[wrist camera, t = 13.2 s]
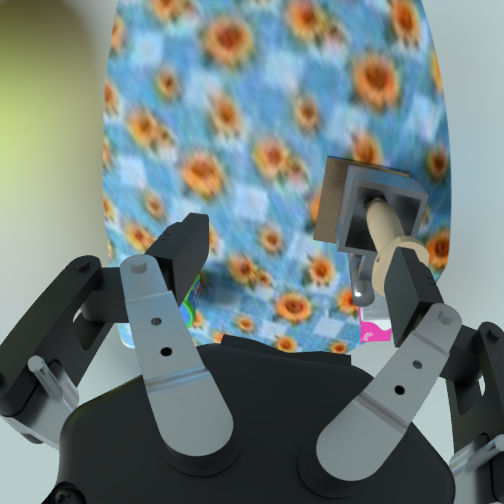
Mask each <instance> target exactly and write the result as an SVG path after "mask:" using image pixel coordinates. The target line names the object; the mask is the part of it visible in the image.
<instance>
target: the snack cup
mask: <svg viewBox="0 0 504 504" xmlns="http://www.w3.org/2000/svg"><path fill="white" fill-rule="evenodd" d="M199 279H200V274H198V276H197V277H196V279H195V281H194V283H193V284H192V286H191V288H190V290H189V292H188V293H187V295H186V297H185V299H184V301H183V302H182V304H181V306H180V308H179V310H180V312H181V314H182V317H183V319H184V322H185V324H186V326H187V329H188V328H189V327H191V325H192V324H193V322H194V320H195V318H196V312H195V311H196V308H197V304H198V300H199V296H200V293H201V288H202V287H201V283H200V281H199Z"/></svg>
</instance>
